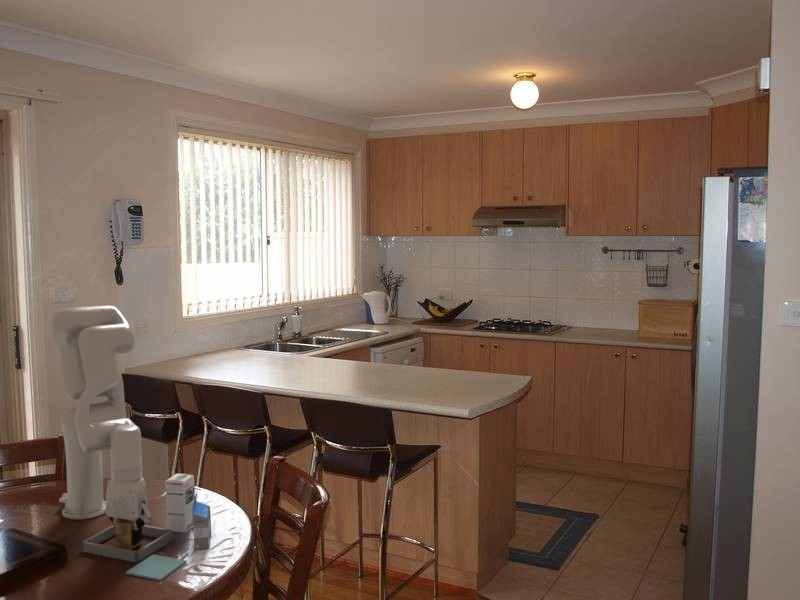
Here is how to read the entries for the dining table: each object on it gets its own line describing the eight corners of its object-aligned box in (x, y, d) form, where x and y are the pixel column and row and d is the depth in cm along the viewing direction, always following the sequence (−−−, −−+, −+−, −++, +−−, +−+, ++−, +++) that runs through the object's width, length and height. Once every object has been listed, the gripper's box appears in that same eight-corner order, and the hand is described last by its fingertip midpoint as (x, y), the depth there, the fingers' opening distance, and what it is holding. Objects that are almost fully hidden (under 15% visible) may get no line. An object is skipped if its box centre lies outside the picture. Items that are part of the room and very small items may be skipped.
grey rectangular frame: (81, 551, 184) (81, 542, 183) (121, 529, 197) (120, 520, 197) (137, 562, 178) (137, 552, 178) (174, 539, 191) (173, 530, 191)
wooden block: (115, 547, 186) (115, 521, 185) (127, 540, 190) (127, 515, 190) (130, 550, 185) (129, 524, 184) (141, 543, 189) (141, 517, 188)
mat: (125, 573, 172) (125, 571, 172) (153, 556, 181) (153, 554, 181) (160, 580, 169) (160, 578, 169) (186, 562, 178) (186, 560, 178)
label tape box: (209, 549, 185) (208, 503, 184) (192, 550, 185) (191, 504, 183) (211, 535, 194) (210, 491, 193) (196, 536, 193) (195, 492, 192)
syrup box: (186, 533, 195) (185, 481, 194) (166, 531, 196) (164, 479, 195) (196, 524, 201) (195, 474, 199) (176, 522, 202) (175, 472, 201)
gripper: (89, 474, 185) (92, 542, 187) (143, 482, 179) (146, 552, 181) (110, 465, 192) (112, 531, 194) (163, 472, 186) (165, 540, 188)
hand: (128, 541), depth 187 cm, fingers closed on wooden block, 4 cm apart
